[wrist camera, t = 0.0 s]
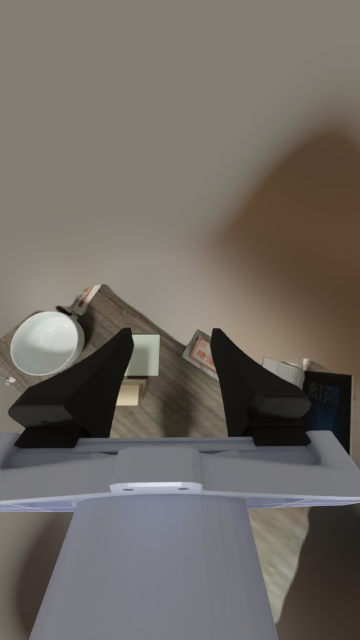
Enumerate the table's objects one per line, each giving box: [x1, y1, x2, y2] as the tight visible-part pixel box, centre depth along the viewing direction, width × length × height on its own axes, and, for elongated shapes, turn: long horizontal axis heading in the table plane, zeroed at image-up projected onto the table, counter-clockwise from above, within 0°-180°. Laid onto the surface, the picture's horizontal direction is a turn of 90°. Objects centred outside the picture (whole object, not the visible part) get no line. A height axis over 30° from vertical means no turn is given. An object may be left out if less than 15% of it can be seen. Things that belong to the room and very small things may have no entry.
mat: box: [124, 335, 160, 376], centre depth 43 cm, size 12×12×1 cm
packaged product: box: [182, 330, 219, 381], centre depth 42 cm, size 18×5×10 cm
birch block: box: [116, 379, 148, 405], centre depth 36 cm, size 4×6×10 cm, turn 90°
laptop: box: [262, 357, 353, 458], centre depth 35 cm, size 18×12×13 cm
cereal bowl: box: [11, 311, 85, 375], centre depth 41 cm, size 17×17×7 cm
